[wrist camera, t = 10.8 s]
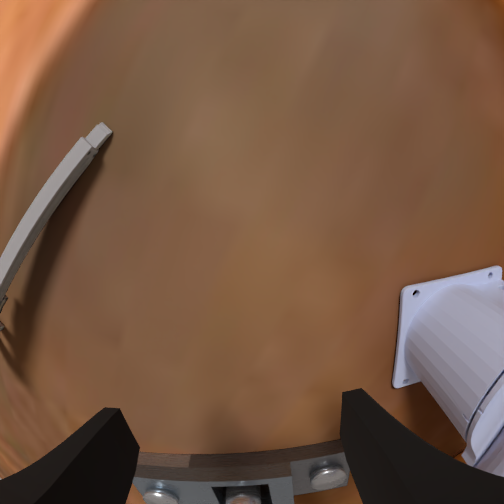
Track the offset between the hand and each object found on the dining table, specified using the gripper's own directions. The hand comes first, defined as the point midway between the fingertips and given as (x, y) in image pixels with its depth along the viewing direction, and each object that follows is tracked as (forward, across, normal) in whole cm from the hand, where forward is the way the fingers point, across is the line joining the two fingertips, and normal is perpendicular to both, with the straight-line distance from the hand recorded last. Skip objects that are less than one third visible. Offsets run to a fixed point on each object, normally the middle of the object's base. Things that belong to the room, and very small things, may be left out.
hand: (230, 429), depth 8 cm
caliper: (+10, +14, -5) cm, 18 cm away
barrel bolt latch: (+9, +2, +16) cm, 19 cm away
